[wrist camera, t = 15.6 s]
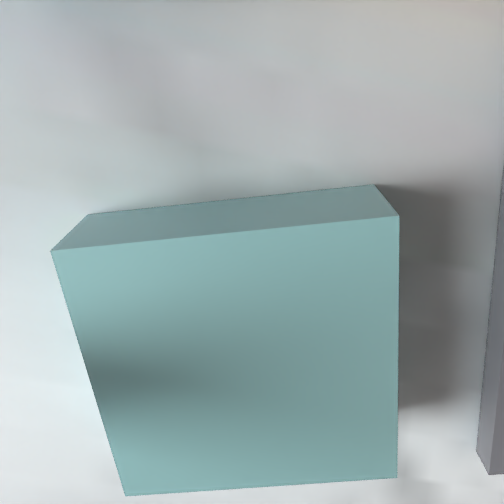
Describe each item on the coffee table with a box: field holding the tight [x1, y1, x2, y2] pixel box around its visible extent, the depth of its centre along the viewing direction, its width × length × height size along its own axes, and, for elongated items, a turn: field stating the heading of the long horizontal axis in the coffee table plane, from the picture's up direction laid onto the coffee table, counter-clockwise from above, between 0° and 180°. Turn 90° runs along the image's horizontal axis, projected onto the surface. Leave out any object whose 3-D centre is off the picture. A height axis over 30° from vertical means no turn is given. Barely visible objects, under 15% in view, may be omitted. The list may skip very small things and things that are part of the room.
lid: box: [50, 184, 399, 496], centre depth 14 cm, size 8×8×3 cm
